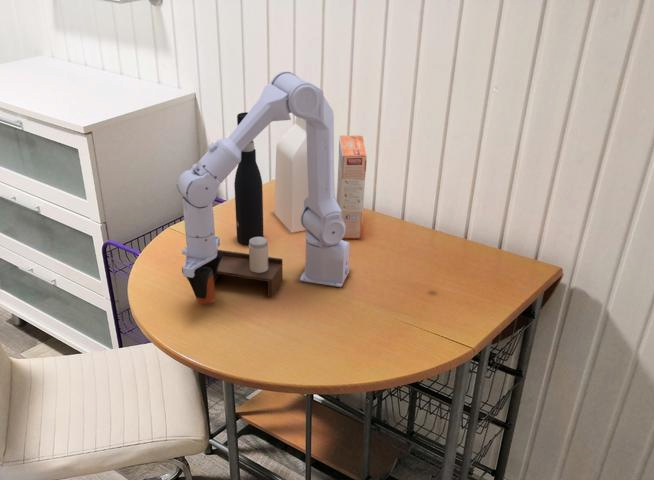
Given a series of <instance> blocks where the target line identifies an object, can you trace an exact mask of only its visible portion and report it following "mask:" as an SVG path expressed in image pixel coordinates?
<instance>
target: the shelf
mask: <svg viewBox="0 0 654 480" xmlns="http://www.w3.org/2000/svg"><path fill="white" fill-rule="evenodd" d="M218 252H221V253H222V256H223V257H222V259H221V261H220V263H219V266H218V270H217V275H216V280H217V279H218V278H219V277H220V276H221V275H224V276H230V277H237V278H243V279H251V280H257V281H264V282H267V287H268V289H267V290H268V293H267V294H268V295H267V296H268V298H270V299H273V297H274V296H275V294H276V292H277V291H278V289H279V288H280V286H281V285H282V283H283V281H284V280H283V276H284V275H283V273H284V272H283V270H284V269H283V267H284V266H283V265H284V264H283V263H284V262H283V258H278V257H273V256H268V270H267V271H265V272H262V273H256V272H252V271H251V270H250V263H249V253H244V252H237V251H231V250H223V249H218Z"/></svg>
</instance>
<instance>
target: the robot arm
mask: <svg viewBox="0 0 654 480" xmlns="http://www.w3.org/2000/svg"><path fill="white" fill-rule="evenodd" d="M290 114H292V115H293V116H294V117H295V118H296V117H299V118H302V119H303V120H305V121H306V137H307V165H308V193H309V196H308V197H307V198H306V199H305V200H304V208H303V211H302V214H301V218H300V219H301V224H302V226H303V227H304V228H305V229H306V230H305V259H304V260H305V261H304V262H305V263H304V264H305V265H304V266H305V267H304V268H305V269H304V270H303V272H302V274H301V276H300V278H299V281H300V282H305V283H309V284H317V285H323V286H330V287H337V288H341V287H343V285H344V283H345V281H346V279H347V277H348V275H349V273H350V254H351V244H350V243H351V242H349V241H346V240H343V239H344V238H343V237H344V235H345V231H346V226H345V223H344V221H343V220H342V212H341V209H340V207H339V205H338V203H337V198H336V194H335V124H334V123H335V121H334V119H335V118H334V116H335V115H334V109H333V108H332V107H331V105H330V103H329V102H328V100H327V99H326V97H325V95H324V90H322V89H321V88H319V87H318V86H316V85H315V84H313V83H311V82H308V81H306V80H304V79H302V78H301V77H300V76H298V75H296V74H295V73H294V72H290V71H284V70H283V71H281V72H278V73H277V74H276V75H275V76H274V77H273V78H272V80H271V81H270V82H269V83H267V84H266V85H265V86H264V87H263V89H262V92H261V93H260V96H259V98H258V99H257V100H256V102H255V104H254V105H253V106H252V107H251V108H250V110H248V114H247V115H246V116H245V117H244V119H243V120H242V121H241V122H240V124H239V125H238V126H236V127H235V129H234V130H233V131H232V132H231V134H230V135H229V136H228V137H227V138H219V139H217V140H216V141H215V142H213V141H212V142H211V143H210V144H209V145H208V146H207V147H208V150H207V152H205V154H204V155H203V156H202V157H201V158H200V159H199V160H198V162H196V163H194V164H192V165H191V168H189V169H186V170H185V171H183V172H182V173H181V174H180V176H179V178H178V181H177V183H176V185H175V186H176V189H177V191H178V193H179V194H180V195H181V196H182V208H183V213H182V214H183V222H184V232H185V243H186V247H184V248H183V249H182V250H181V254H182V255H185V260H184V264H183V266H182V267H181V273H182V276H183V277H184V278H186V279H187V281H188V282H189V284H190V286H191V290H192V291H193V294H194V296H195V298H196V297H197V298H203V299H205V298H206V295H207V282H208V277H209V274H210V272H211V270H210V269H203V267H210V268H211V269H212V270H213V274H214V286H215V284H216V280H217V279H216V275H217V270H218V266H219V263H220V261H221V259H222V257H223V256H222V253H221V252H218V250H219V247H220V246H221V238H220V236H217V235H216V231H215V218H214V215H215V214H214V207H213V202H214V201H215V200H216V198H217V196H218V189H219V187H220V185H221V184H223V182H224V181H225V180H226V179H227V177H228V176H229V175H230V174H231V173H232V172H233V171H234V170H235V168H236V167H238V164H239V163H240V162H241V152H242V150H243V149H244V148H245V147H246V146H247V145H248V144H249V143H250V142H251V141H252V140H253V141H254V140H255V139H256V137H258V136H259V135H260V134H261V133H262V132H263V131H264V130H265V129H266V128H267V127H268V126H269V125H270V124H271V123H272V122H280V121H281V122H282V121H291V120H292V118H291V116H290Z"/></svg>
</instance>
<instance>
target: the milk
mask: <svg viewBox="0 0 654 480" xmlns="http://www.w3.org/2000/svg"><path fill="white" fill-rule="evenodd" d="M275 148H276V149H275V153H276V154H275V172H274V174H275V175H274V198H273V199H274V204H273V215H274V216H275V217H276V218H277V219H278V220H279V221H280V222H281V223H282V224H283V225H284V227H286V229H287V230H288V231H289V232H290V233H298V232H305V231H306V229H305V228H304V227H303V226H302V224H301V219H300V218H301V214H302V211H303V208H304V200H305V199H306V198H307V197H308V196H309V193H308V165H307V137H306V121H305V120H303V119H302V118H299V117H296V116H295V123H294V124H293V125H292V126H291V127H290V128H289V129H288V130H287V131H286V132H285V133H284V134H283V135H282V136H281V137H280V139H278V141H277V143H276V147H275Z"/></svg>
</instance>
